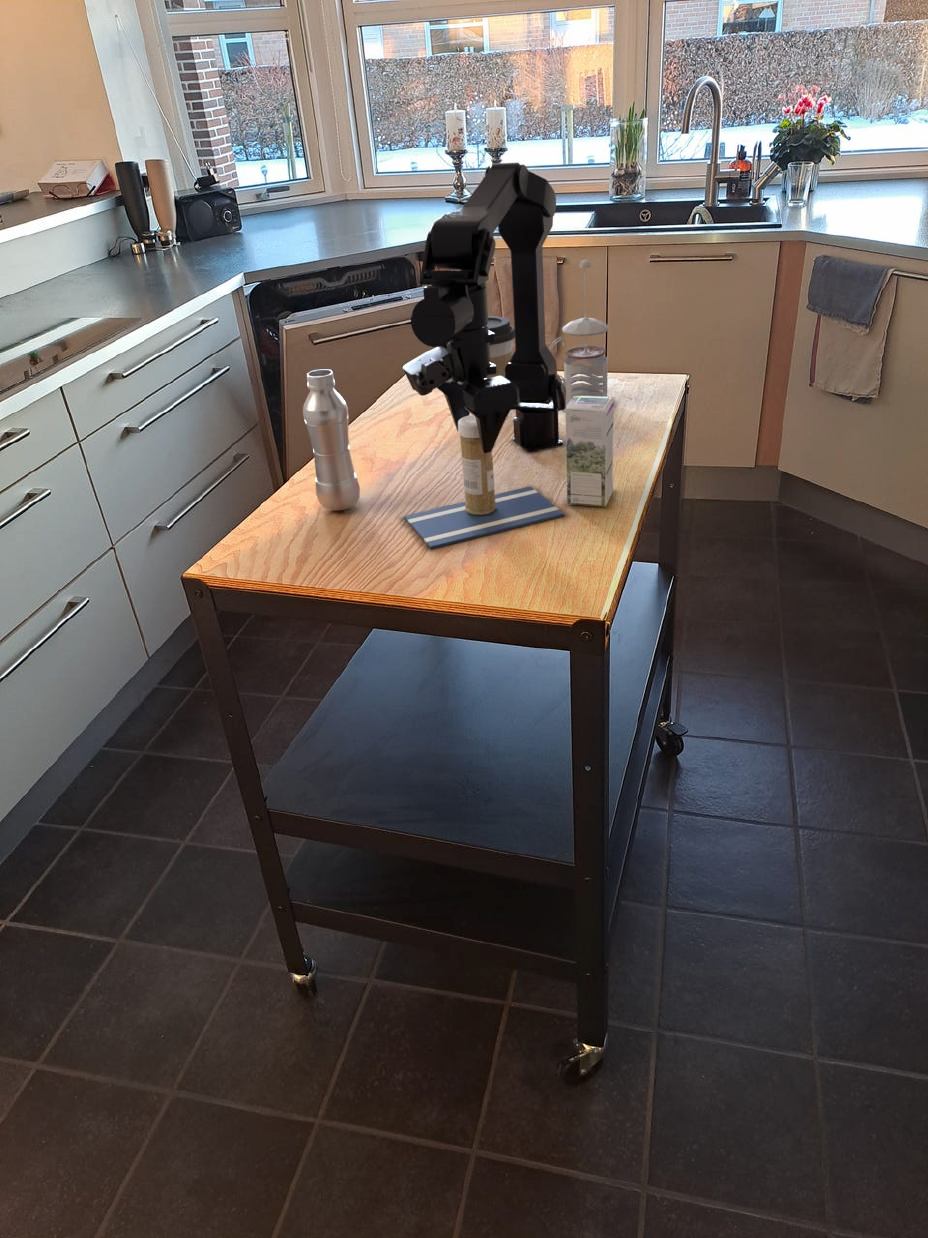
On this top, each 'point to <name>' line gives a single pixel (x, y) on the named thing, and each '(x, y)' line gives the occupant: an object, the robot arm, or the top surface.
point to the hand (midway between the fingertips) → (474, 441)
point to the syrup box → (589, 450)
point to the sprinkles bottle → (476, 469)
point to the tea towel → (482, 518)
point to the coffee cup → (500, 343)
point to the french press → (584, 356)
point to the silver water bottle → (330, 442)
